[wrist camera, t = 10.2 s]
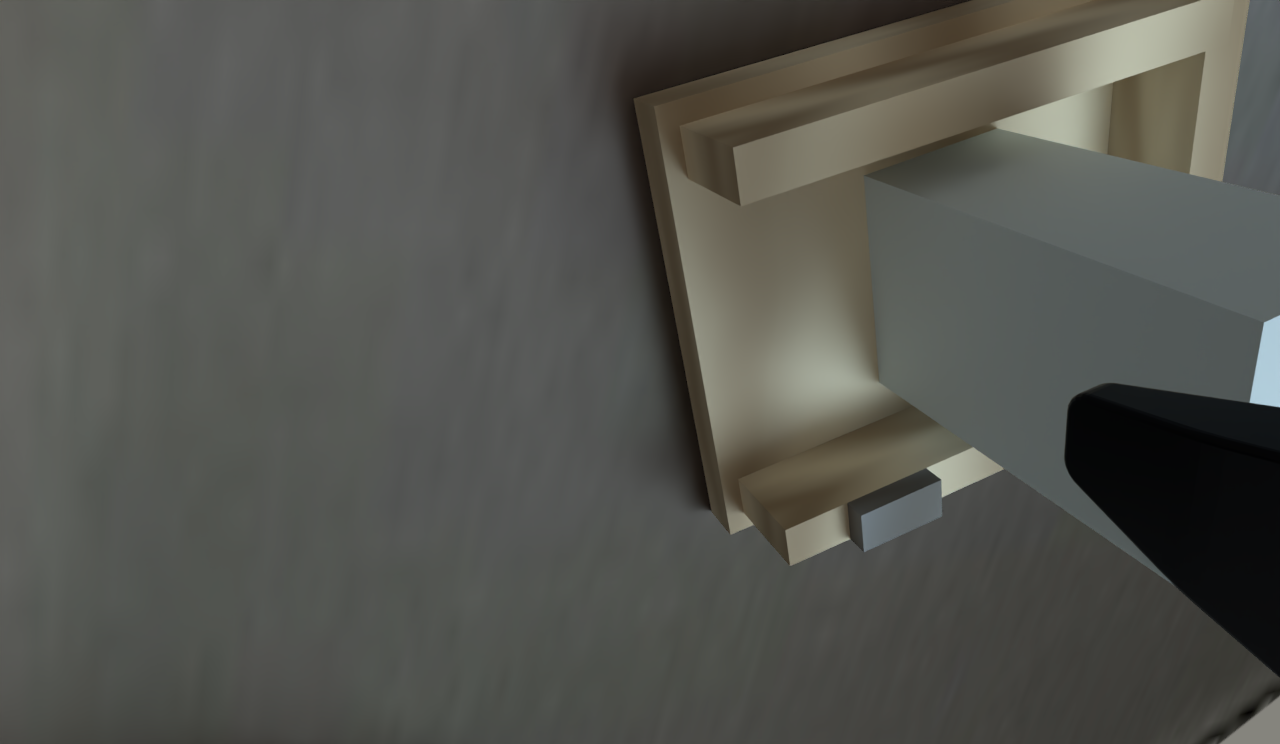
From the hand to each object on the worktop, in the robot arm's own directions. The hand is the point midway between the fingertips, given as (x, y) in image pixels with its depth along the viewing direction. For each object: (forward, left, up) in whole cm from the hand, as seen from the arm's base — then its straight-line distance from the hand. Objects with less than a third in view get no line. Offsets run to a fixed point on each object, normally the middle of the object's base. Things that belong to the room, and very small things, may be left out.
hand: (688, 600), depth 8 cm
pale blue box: (+12, -4, -12) cm, 17 cm away
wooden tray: (+12, -4, -13) cm, 18 cm away
